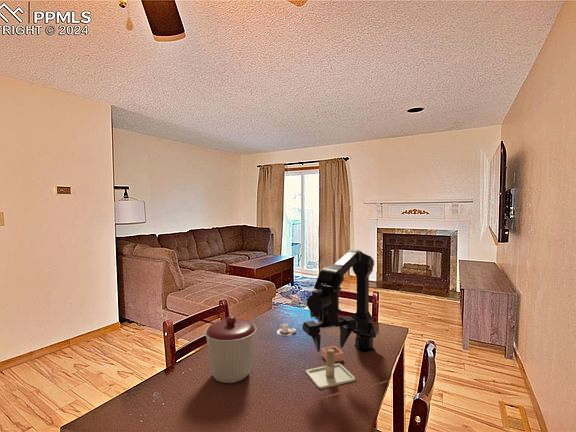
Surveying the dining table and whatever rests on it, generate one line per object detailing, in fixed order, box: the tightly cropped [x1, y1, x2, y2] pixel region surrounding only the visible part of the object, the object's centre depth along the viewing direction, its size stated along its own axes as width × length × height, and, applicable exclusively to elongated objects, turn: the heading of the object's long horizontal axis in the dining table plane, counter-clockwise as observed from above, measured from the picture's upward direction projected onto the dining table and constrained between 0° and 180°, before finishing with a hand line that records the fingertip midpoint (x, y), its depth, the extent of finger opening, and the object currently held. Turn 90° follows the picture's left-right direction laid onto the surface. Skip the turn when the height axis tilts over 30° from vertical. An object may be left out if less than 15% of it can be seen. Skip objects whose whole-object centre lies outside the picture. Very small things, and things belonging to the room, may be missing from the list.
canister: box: [203, 315, 258, 384], centre depth 110 cm, size 18×18×21 cm
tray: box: [304, 362, 357, 390], centre depth 109 cm, size 14×11×1 cm
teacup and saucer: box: [276, 322, 297, 337], centre depth 147 cm, size 9×8×4 cm
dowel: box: [325, 349, 336, 379], centre depth 109 cm, size 3×3×9 cm
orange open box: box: [321, 345, 344, 363], centre depth 122 cm, size 6×6×4 cm
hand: (329, 349), depth 109 cm, fingers open, 9 cm apart
